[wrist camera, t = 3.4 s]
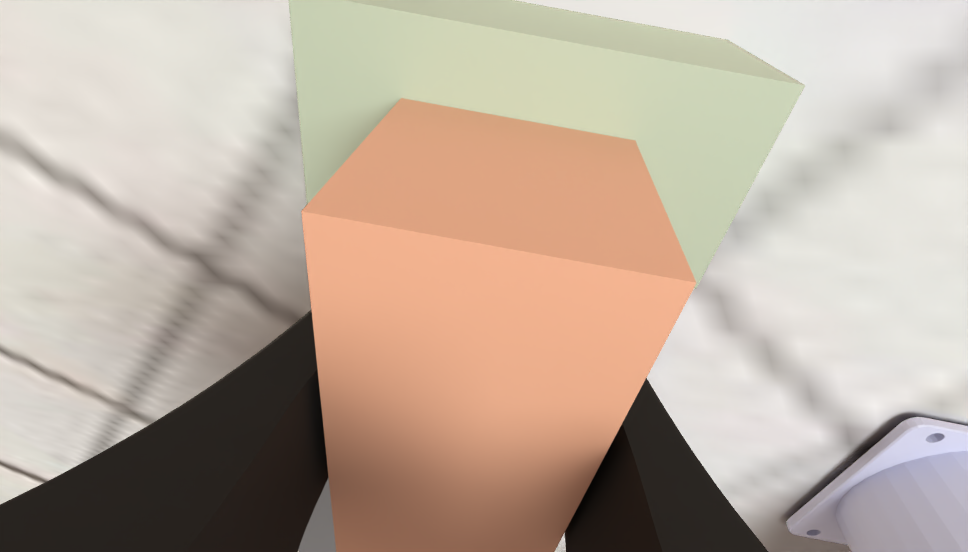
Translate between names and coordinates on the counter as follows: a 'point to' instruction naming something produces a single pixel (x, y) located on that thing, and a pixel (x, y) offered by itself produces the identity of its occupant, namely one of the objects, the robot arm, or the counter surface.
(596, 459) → the terracotta brick
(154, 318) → the counter surface
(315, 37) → the sage brick
